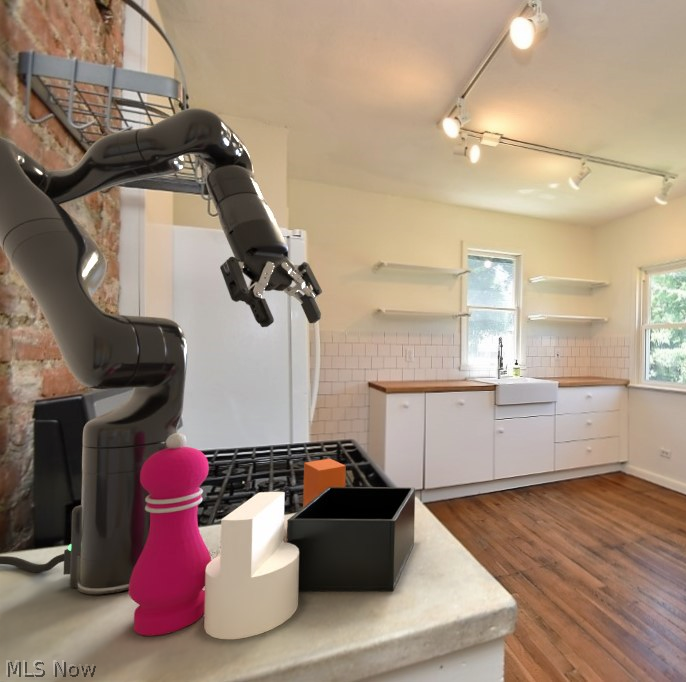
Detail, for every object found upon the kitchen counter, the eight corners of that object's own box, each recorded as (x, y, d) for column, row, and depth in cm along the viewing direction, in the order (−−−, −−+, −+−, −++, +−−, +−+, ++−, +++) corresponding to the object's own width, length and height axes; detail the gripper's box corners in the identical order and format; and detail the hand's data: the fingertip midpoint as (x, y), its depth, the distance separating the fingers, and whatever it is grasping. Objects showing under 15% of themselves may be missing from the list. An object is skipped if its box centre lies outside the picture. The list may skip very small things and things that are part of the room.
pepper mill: (167, 644, 44) (173, 441, 45) (108, 634, 46) (114, 437, 46) (227, 604, 52) (231, 429, 52) (174, 596, 53) (179, 426, 53)
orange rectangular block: (317, 533, 71) (318, 470, 71) (302, 522, 76) (303, 462, 76) (344, 526, 74) (345, 465, 74) (328, 515, 79) (330, 458, 79)
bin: (285, 591, 54) (287, 520, 55) (327, 544, 67) (328, 486, 68) (393, 591, 55) (394, 520, 55) (414, 544, 68) (415, 487, 68)
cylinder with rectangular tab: (279, 636, 46) (282, 519, 46) (184, 642, 45) (187, 521, 45) (309, 589, 55) (311, 490, 55) (230, 592, 54) (233, 492, 54)
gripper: (278, 247, 78) (315, 330, 77) (192, 238, 65) (234, 338, 64) (304, 224, 75) (343, 309, 74) (220, 210, 62) (265, 313, 61)
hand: (293, 322), depth 69 cm, fingers open, 8 cm apart
